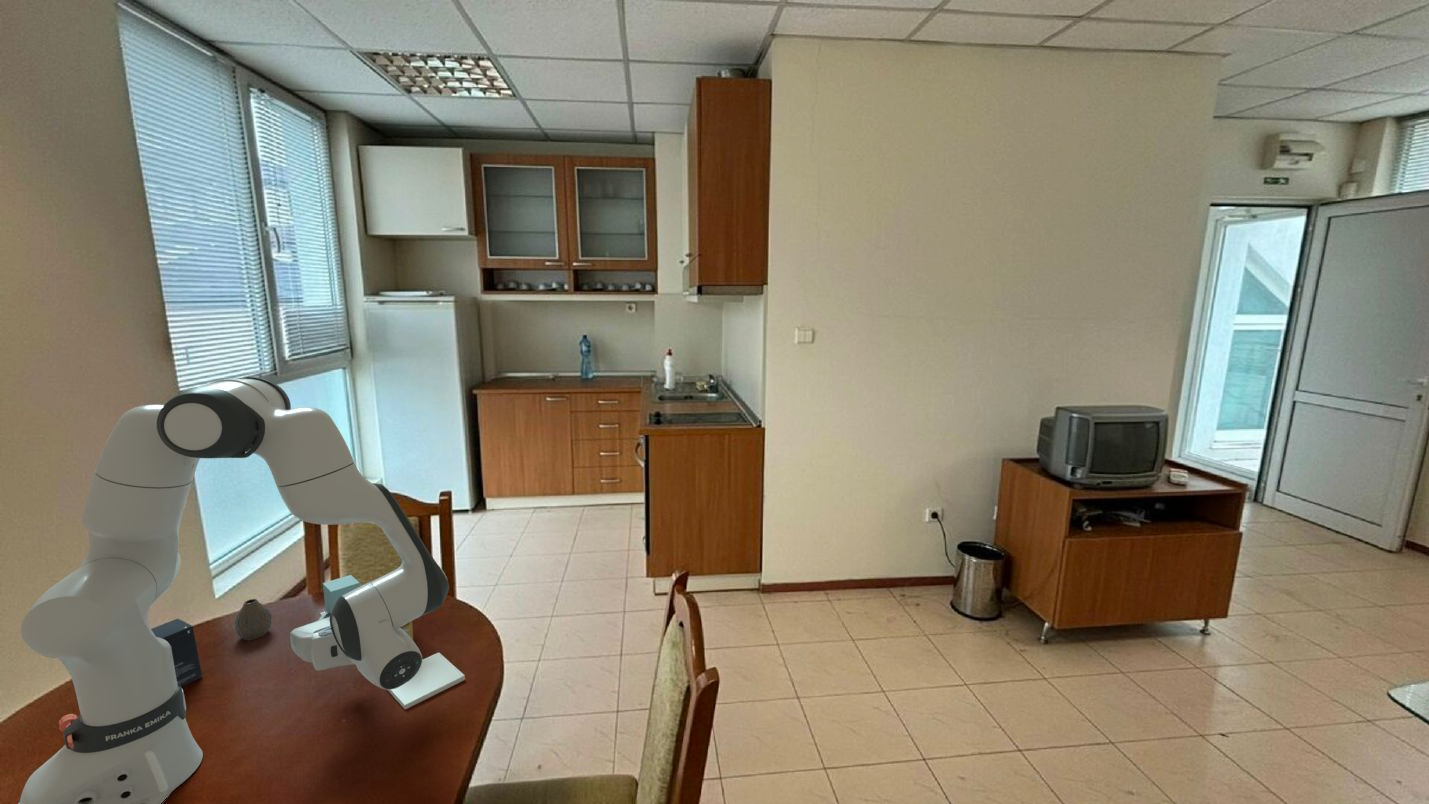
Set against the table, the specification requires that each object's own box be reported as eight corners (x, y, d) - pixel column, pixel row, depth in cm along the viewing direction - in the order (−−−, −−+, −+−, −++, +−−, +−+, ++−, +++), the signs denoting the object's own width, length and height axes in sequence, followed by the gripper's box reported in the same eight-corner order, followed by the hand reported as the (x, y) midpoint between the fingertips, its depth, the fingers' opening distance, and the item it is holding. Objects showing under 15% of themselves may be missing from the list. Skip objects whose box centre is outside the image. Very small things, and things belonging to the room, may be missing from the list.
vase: (228, 641, 134) (223, 606, 132) (259, 625, 140) (255, 591, 139) (250, 646, 132) (245, 611, 130) (280, 630, 138) (276, 596, 137)
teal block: (337, 657, 115) (330, 591, 112) (329, 647, 118) (322, 583, 116) (365, 646, 119) (359, 582, 116) (356, 636, 122) (350, 574, 119)
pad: (405, 709, 113) (404, 705, 112) (381, 682, 120) (380, 678, 120) (465, 679, 122) (464, 675, 121) (439, 656, 129) (438, 652, 129)
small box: (187, 667, 124) (179, 616, 122) (204, 677, 121) (195, 625, 119) (103, 705, 113) (92, 650, 110) (119, 717, 110) (108, 660, 108)
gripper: (423, 599, 116) (395, 576, 125) (302, 642, 101) (280, 613, 109) (425, 628, 117) (397, 603, 126) (306, 675, 102) (283, 644, 110)
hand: (342, 608), depth 117 cm, fingers closed on teal block, 5 cm apart
